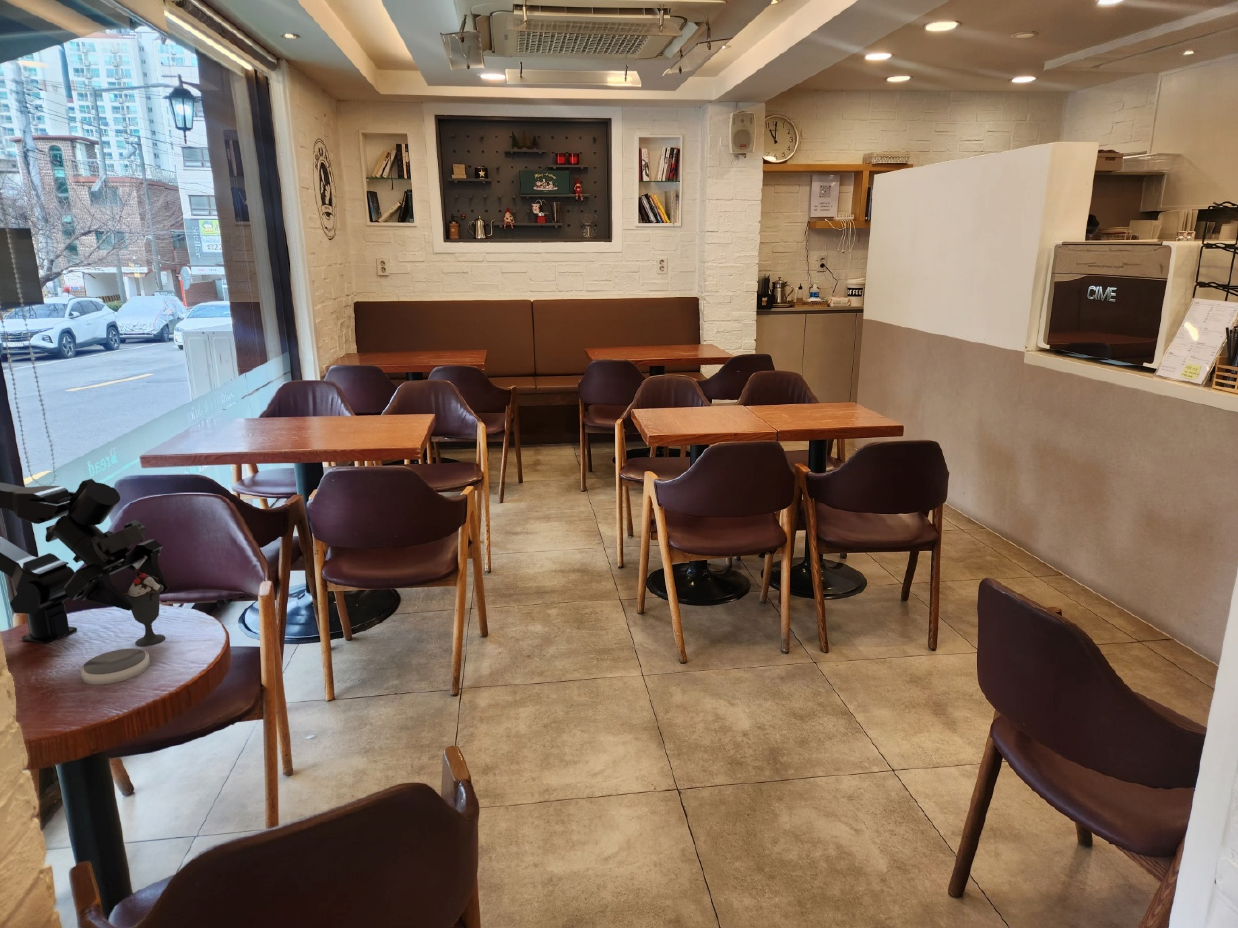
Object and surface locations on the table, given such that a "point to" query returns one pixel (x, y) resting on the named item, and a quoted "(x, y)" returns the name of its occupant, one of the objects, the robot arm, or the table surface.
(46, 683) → the table surface
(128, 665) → the round mirror
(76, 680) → the table surface
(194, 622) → the table surface
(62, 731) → the table surface
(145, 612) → the sundae
